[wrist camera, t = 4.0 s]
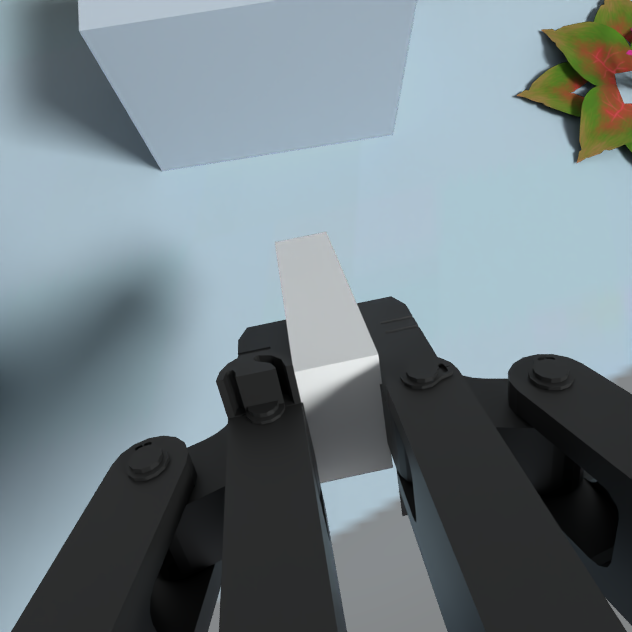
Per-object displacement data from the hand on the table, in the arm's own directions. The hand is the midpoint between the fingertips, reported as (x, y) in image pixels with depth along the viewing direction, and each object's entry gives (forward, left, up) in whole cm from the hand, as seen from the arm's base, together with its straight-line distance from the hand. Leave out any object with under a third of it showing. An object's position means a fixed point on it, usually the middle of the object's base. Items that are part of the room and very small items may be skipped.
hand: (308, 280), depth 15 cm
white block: (0, -14, -9) cm, 17 cm away
